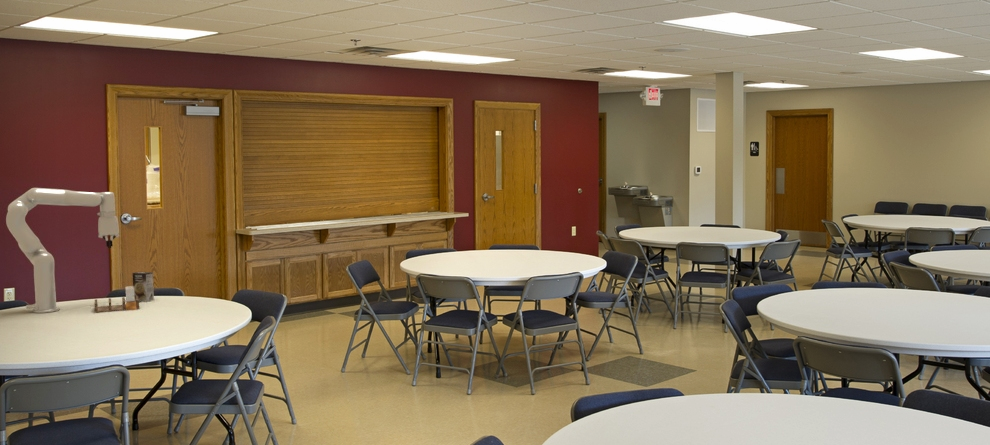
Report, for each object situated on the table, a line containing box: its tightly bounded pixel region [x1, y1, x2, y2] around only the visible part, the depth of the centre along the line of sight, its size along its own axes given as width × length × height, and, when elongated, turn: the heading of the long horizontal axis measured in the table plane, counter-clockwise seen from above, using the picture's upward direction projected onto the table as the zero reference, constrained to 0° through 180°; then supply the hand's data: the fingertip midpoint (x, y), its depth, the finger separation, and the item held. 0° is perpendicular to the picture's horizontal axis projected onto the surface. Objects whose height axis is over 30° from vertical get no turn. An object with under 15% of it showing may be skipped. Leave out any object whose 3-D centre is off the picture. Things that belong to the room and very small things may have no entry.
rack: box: [94, 296, 140, 314], centre depth 445 cm, size 21×15×5 cm
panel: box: [125, 285, 136, 304], centre depth 448 cm, size 4×11×10 cm, turn 25°
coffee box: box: [132, 271, 155, 303], centre depth 469 cm, size 9×6×16 cm
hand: (109, 247), depth 459 cm, fingers closed
